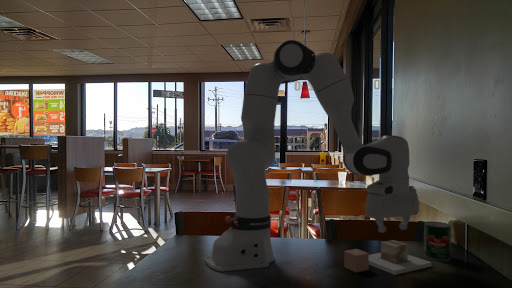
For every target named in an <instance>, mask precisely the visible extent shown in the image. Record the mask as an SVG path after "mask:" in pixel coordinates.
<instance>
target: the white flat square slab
mask: <svg viewBox="0 0 512 288" xmlns="http://www.w3.org/2000/svg"><path fill="white" fill-rule="evenodd" d="M432 263H433V262H431V261H429V260H425V259H423V258H420V257H417V256H414V255H411V254H408V260H407V261H402V262H398V263H394V262H391V261H388V260H386V259H383V258H381V252H376V253H372V254H369V266H372V267H374V268H377V269H379V270H382V271H384V272H386V273H389V274H392V275H394V276H396V275H401V274H405V273H410V272H413V271H419V270H423V269H426V268H430V267H432Z"/></svg>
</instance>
